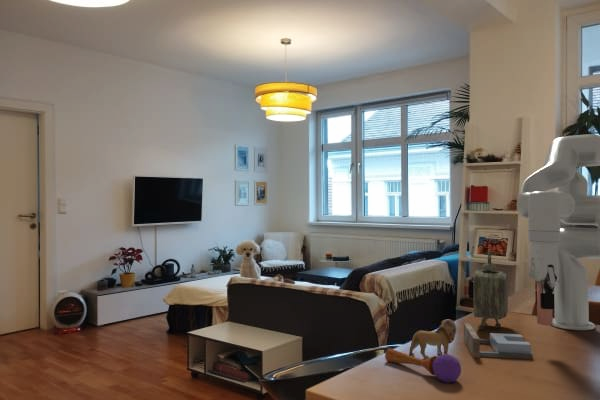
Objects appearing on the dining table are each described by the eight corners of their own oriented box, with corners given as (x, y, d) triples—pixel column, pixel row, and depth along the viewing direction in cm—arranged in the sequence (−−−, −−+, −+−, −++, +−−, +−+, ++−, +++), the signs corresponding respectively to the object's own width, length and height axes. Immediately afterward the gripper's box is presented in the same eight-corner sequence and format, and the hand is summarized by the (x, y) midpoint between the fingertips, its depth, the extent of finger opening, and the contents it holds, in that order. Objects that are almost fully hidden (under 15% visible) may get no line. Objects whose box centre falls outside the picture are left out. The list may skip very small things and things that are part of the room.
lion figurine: (448, 349, 127) (447, 316, 127) (461, 355, 122) (461, 320, 122) (402, 356, 122) (402, 321, 122) (414, 362, 117) (414, 326, 117)
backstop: (463, 340, 136) (463, 323, 136) (517, 342, 133) (517, 325, 133) (473, 357, 120) (473, 338, 120) (534, 361, 117) (534, 341, 118)
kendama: (398, 343, 121) (466, 356, 105) (396, 367, 119) (465, 384, 103) (382, 342, 117) (450, 356, 101) (380, 367, 116) (449, 385, 100)
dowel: (535, 321, 126) (535, 276, 127) (549, 322, 125) (549, 277, 126) (539, 324, 123) (539, 278, 123) (554, 325, 122) (554, 279, 122)
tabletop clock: (478, 321, 159) (478, 246, 159) (508, 323, 155) (507, 247, 155) (473, 331, 146) (472, 250, 146) (505, 334, 142) (504, 251, 142)
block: (489, 343, 132) (489, 333, 132) (520, 345, 130) (520, 334, 130) (497, 354, 122) (497, 343, 122) (531, 356, 120) (530, 344, 120)
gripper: (520, 236, 134) (521, 301, 133) (538, 239, 117) (539, 313, 117) (549, 236, 132) (549, 302, 132) (571, 239, 116) (572, 314, 115)
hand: (544, 306), depth 124 cm, fingers closed on dowel, 3 cm apart
